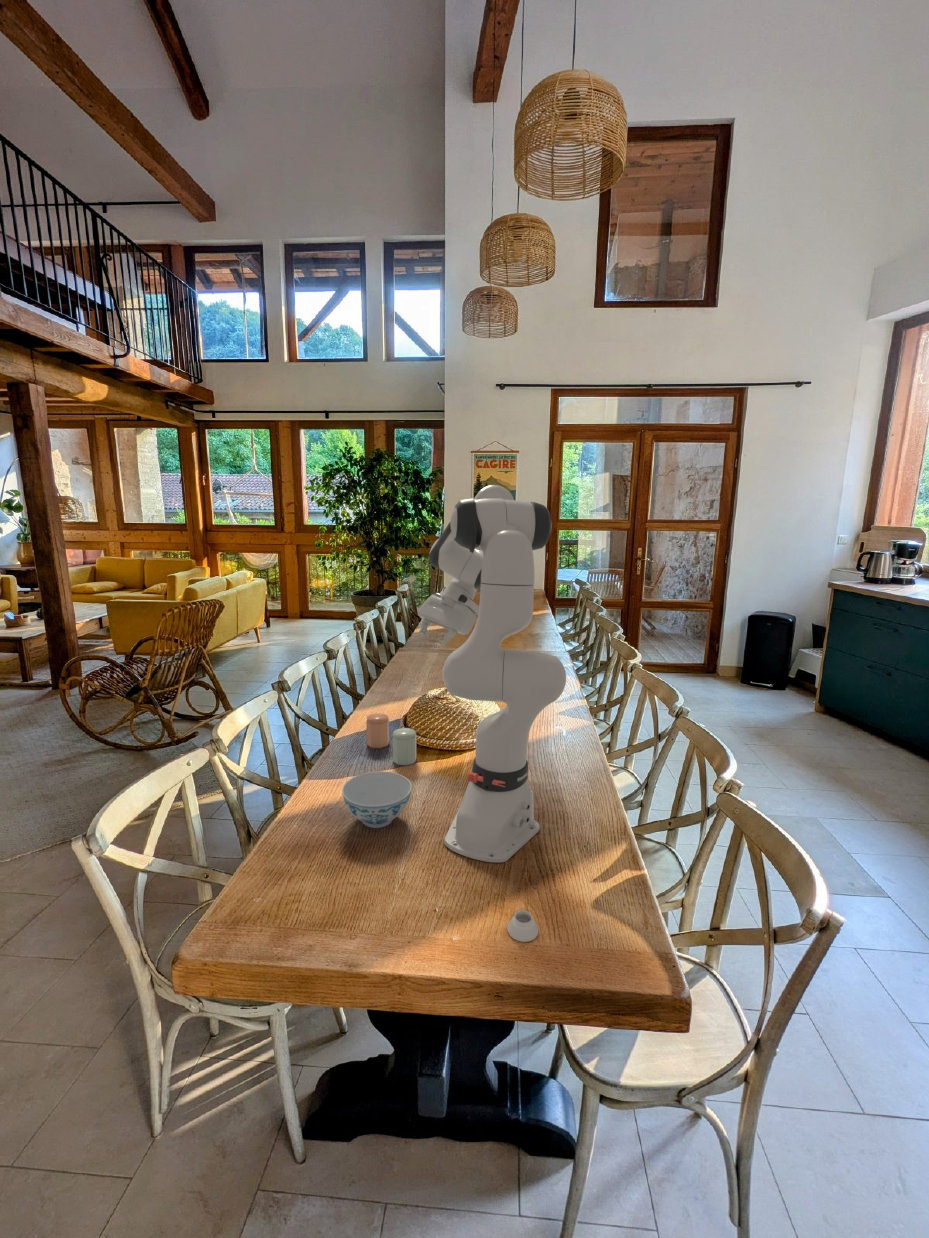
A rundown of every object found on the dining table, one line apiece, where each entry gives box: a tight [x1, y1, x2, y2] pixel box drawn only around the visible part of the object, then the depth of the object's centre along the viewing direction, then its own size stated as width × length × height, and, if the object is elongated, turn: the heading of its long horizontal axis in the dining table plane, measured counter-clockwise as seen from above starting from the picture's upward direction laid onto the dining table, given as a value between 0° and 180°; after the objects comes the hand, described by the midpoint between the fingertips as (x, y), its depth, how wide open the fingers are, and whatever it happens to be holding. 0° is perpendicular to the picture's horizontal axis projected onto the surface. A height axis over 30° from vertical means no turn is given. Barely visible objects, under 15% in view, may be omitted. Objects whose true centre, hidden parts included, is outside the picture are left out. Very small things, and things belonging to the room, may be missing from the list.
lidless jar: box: [507, 910, 539, 943], centre depth 93 cm, size 5×3×5 cm
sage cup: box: [392, 727, 417, 766], centre depth 152 cm, size 6×6×8 cm
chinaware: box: [341, 770, 413, 829], centre depth 124 cm, size 15×15×8 cm
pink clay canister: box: [365, 713, 390, 749], centre depth 162 cm, size 6×6×8 cm
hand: (432, 638), depth 165 cm, fingers open, 8 cm apart
